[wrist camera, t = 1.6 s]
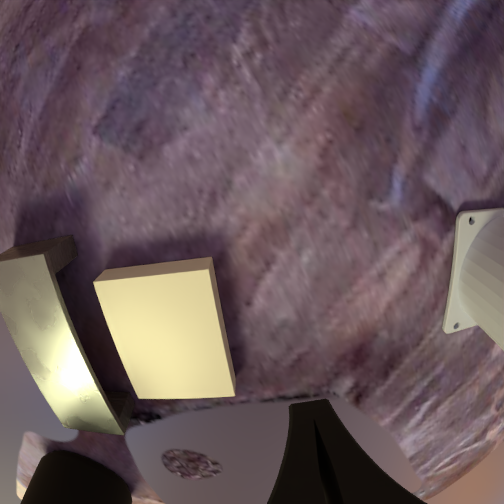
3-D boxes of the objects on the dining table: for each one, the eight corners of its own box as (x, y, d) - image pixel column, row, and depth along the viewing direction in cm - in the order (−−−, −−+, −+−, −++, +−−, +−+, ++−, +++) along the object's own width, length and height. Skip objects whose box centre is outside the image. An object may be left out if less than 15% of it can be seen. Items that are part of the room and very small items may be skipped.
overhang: (72, 234, 15) (43, 253, 12) (135, 404, 19) (124, 435, 17) (12, 246, 15) (-17, 264, 13) (78, 400, 20) (64, 427, 17)
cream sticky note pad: (212, 256, 16) (208, 269, 14) (235, 378, 18) (235, 396, 17) (105, 269, 16) (93, 282, 14) (144, 381, 19) (138, 398, 17)
